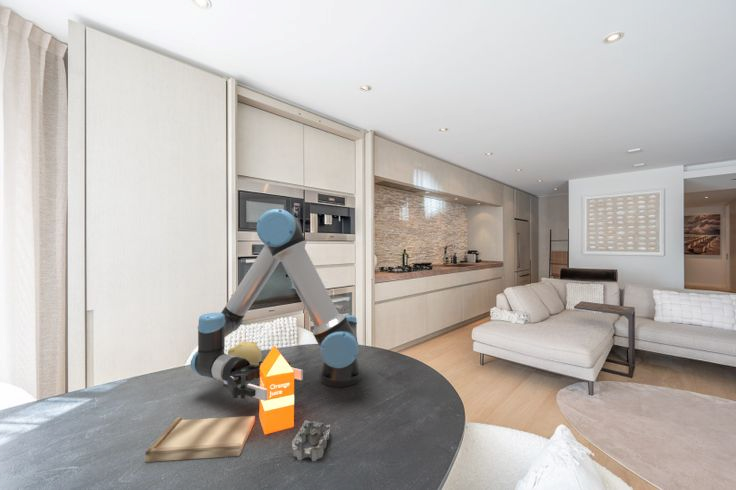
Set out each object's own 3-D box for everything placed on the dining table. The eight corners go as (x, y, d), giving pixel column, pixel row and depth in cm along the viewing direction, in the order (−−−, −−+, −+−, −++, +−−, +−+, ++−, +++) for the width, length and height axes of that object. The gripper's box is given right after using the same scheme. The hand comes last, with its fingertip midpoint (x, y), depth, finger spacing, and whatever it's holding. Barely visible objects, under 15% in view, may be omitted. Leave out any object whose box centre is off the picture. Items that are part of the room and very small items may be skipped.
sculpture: (249, 361, 128) (250, 336, 128) (267, 368, 121) (267, 341, 121) (223, 370, 119) (223, 342, 119) (240, 378, 112) (241, 348, 112)
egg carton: (320, 464, 68) (320, 445, 68) (288, 460, 69) (288, 442, 69) (333, 435, 78) (333, 419, 78) (304, 432, 79) (305, 416, 79)
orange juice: (264, 434, 78) (264, 356, 78) (258, 417, 86) (259, 346, 86) (294, 426, 82) (295, 351, 82) (286, 411, 89) (287, 342, 90)
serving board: (254, 421, 84) (255, 413, 84) (239, 455, 70) (239, 445, 70) (177, 425, 82) (177, 417, 82) (145, 462, 68) (145, 451, 68)
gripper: (263, 367, 103) (314, 380, 93) (191, 400, 81) (247, 421, 71) (263, 345, 103) (314, 356, 93) (191, 371, 81) (247, 388, 71)
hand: (285, 384), depth 82 cm, fingers open, 13 cm apart
